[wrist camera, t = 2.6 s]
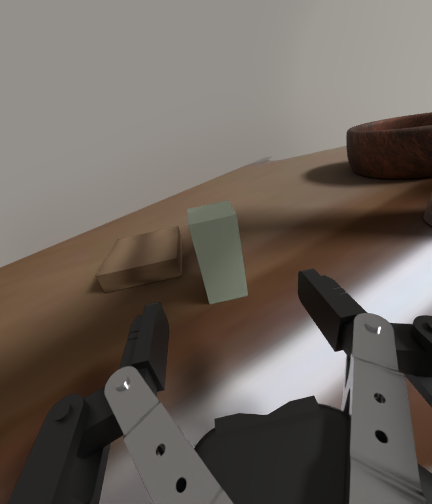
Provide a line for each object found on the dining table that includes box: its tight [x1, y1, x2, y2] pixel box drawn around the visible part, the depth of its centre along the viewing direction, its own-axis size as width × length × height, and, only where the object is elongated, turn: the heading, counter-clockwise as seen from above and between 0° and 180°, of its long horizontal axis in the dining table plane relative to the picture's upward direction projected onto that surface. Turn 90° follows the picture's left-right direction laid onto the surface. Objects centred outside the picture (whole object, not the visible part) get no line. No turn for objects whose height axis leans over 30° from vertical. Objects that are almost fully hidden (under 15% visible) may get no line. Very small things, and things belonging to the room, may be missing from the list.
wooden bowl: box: [347, 113, 432, 179], centre depth 50 cm, size 25×25×10 cm
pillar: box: [188, 201, 248, 304], centre depth 24 cm, size 4×4×10 cm
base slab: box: [95, 227, 183, 293], centre depth 34 cm, size 11×11×3 cm
